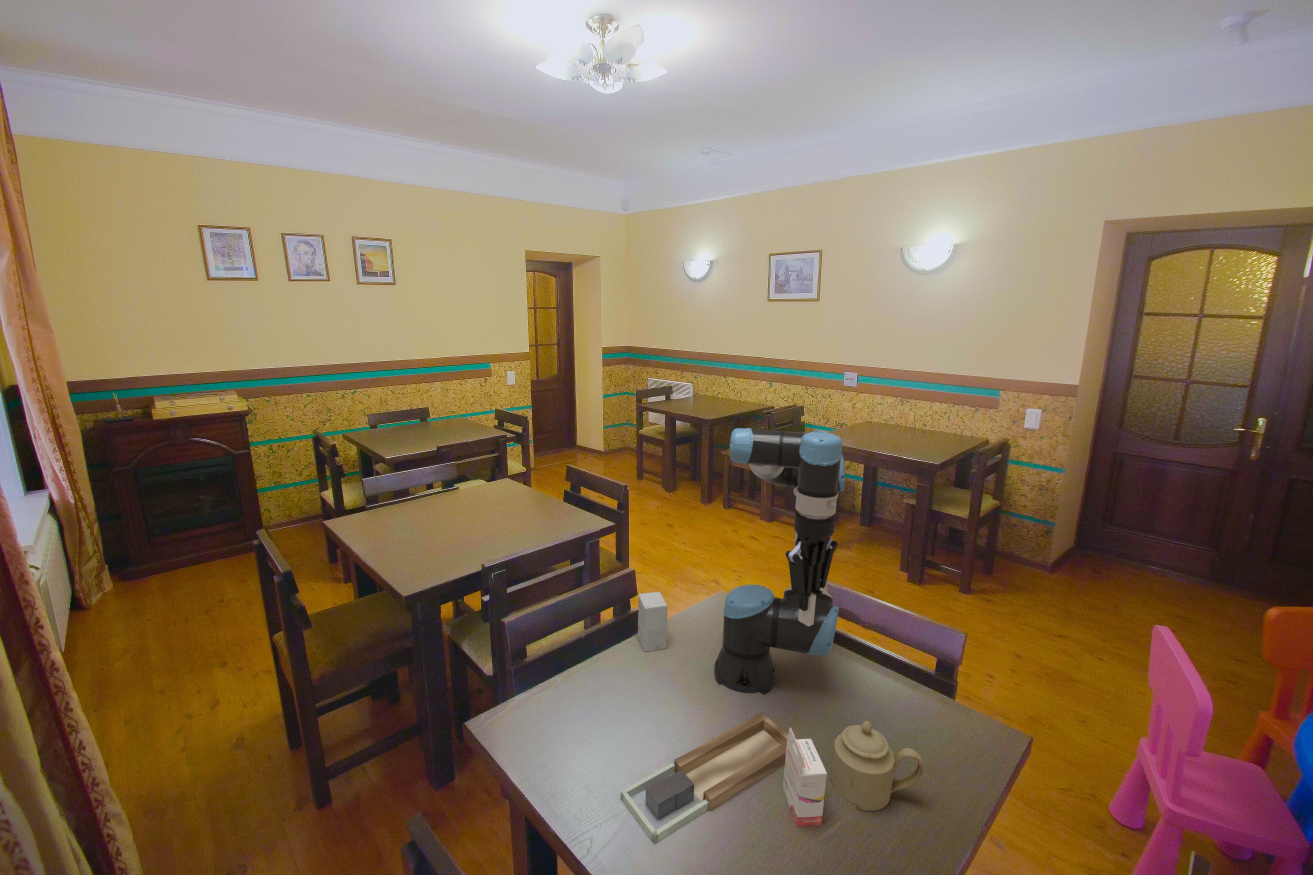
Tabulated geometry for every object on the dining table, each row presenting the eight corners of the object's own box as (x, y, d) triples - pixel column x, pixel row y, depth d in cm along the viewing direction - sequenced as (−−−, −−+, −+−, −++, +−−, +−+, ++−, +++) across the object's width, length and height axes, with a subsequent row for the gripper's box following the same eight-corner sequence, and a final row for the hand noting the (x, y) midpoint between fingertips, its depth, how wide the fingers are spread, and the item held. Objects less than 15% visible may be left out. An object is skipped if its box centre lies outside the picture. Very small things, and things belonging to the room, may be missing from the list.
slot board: (673, 774, 111) (674, 759, 110) (760, 725, 124) (761, 712, 124) (709, 815, 102) (710, 799, 101) (798, 757, 116) (799, 743, 115)
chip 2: (663, 796, 105) (664, 778, 104) (680, 786, 108) (681, 769, 107) (676, 812, 102) (676, 794, 101) (693, 801, 104) (694, 783, 103)
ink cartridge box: (823, 829, 100) (830, 759, 97) (795, 830, 99) (802, 761, 96) (806, 789, 108) (812, 723, 105) (781, 790, 108) (786, 724, 104)
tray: (620, 802, 105) (620, 791, 104) (672, 773, 111) (672, 762, 111) (654, 848, 96) (654, 836, 95) (708, 813, 103) (708, 802, 102)
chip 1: (645, 806, 103) (645, 788, 102) (663, 796, 105) (663, 778, 105) (657, 822, 100) (658, 803, 99) (675, 811, 102) (676, 793, 101)
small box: (666, 649, 152) (668, 605, 149) (644, 652, 150) (644, 608, 147) (659, 632, 159) (660, 590, 156) (637, 635, 158) (637, 593, 155)
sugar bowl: (890, 760, 115) (898, 697, 112) (921, 807, 105) (931, 738, 101) (821, 767, 113) (827, 702, 110) (845, 814, 103) (853, 745, 99)
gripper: (808, 525, 102) (798, 641, 107) (852, 512, 109) (841, 621, 114) (777, 513, 108) (769, 623, 113) (821, 501, 115) (812, 605, 120)
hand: (805, 622), depth 114 cm, fingers closed
